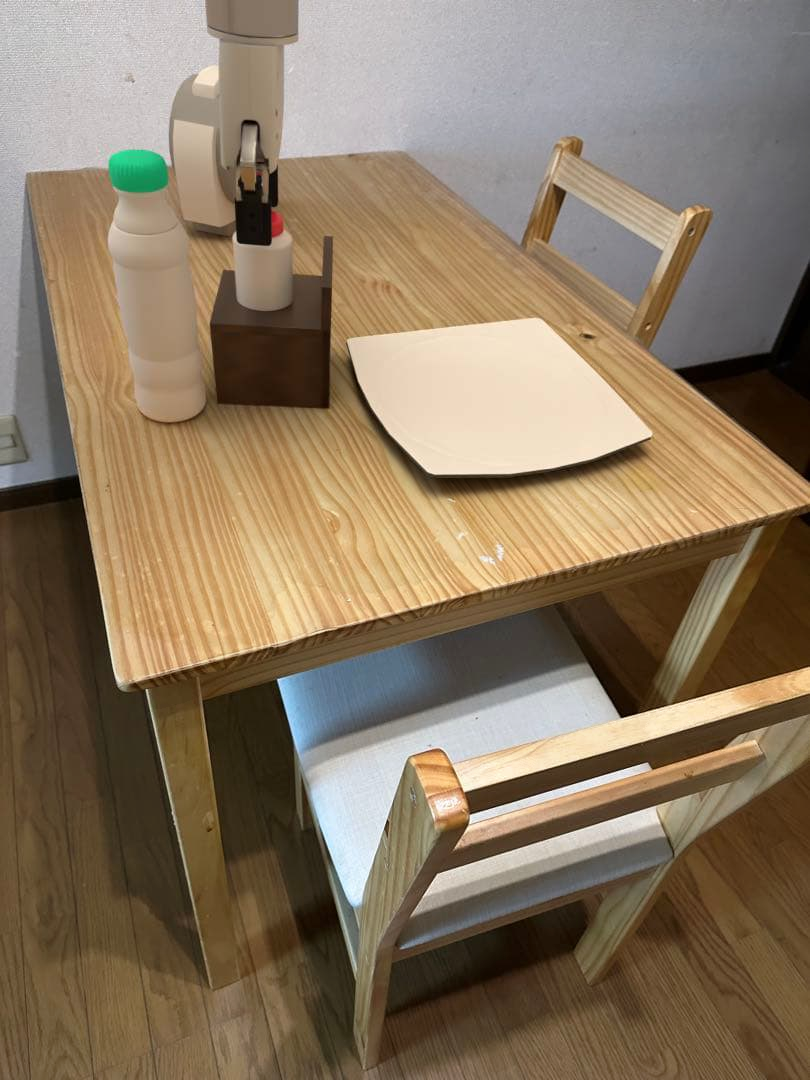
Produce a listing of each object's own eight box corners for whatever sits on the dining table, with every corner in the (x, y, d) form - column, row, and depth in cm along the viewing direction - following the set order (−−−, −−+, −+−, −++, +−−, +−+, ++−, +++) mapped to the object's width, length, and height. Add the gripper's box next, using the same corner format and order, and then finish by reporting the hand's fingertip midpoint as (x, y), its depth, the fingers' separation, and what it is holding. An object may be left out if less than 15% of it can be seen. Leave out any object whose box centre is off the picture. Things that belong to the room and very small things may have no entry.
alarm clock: (227, 195, 124) (217, 51, 110) (276, 205, 123) (273, 61, 109) (174, 236, 111) (155, 78, 97) (228, 248, 110) (217, 90, 96)
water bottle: (139, 388, 83) (96, 140, 66) (206, 386, 84) (181, 143, 67) (135, 426, 78) (86, 169, 61) (206, 424, 79) (178, 172, 62)
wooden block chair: (217, 403, 82) (205, 279, 73) (228, 346, 91) (219, 228, 81) (329, 408, 83) (332, 287, 74) (330, 351, 92) (333, 236, 82)
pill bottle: (300, 307, 80) (300, 226, 74) (245, 314, 78) (240, 232, 72) (283, 282, 83) (281, 203, 78) (229, 288, 81) (223, 207, 75)
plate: (330, 354, 92) (331, 334, 90) (539, 330, 101) (543, 311, 99) (418, 507, 73) (421, 486, 71) (664, 461, 82) (672, 441, 80)
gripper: (218, -8, 69) (228, 189, 81) (191, 31, 56) (208, 257, 68) (302, 1, 70) (300, 195, 81) (293, 42, 57) (293, 264, 69)
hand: (258, 223), depth 75 cm, fingers open, 9 cm apart
